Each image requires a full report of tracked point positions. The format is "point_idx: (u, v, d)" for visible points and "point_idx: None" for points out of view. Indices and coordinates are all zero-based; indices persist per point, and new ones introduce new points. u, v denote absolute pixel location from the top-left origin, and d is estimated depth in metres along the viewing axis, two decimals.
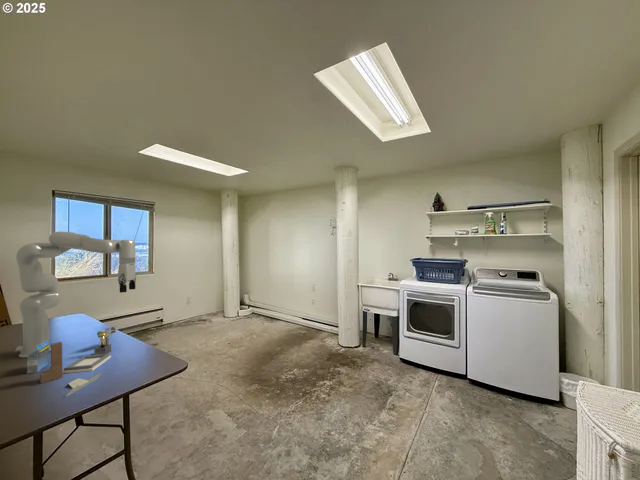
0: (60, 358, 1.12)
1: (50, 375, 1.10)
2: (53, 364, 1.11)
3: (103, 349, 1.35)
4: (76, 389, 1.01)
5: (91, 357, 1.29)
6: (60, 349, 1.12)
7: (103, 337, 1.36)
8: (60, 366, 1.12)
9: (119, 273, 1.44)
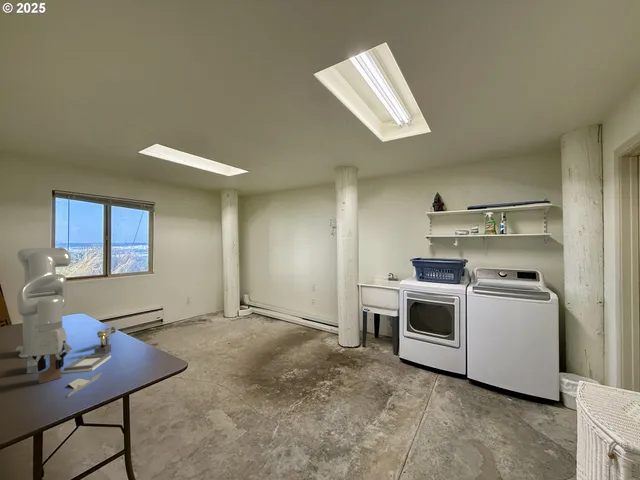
0: None
1: (48, 375, 1.10)
2: (51, 364, 1.10)
3: (103, 349, 1.35)
4: (78, 389, 1.02)
5: (91, 357, 1.29)
6: None
7: (103, 337, 1.36)
8: None
9: (60, 342, 1.10)
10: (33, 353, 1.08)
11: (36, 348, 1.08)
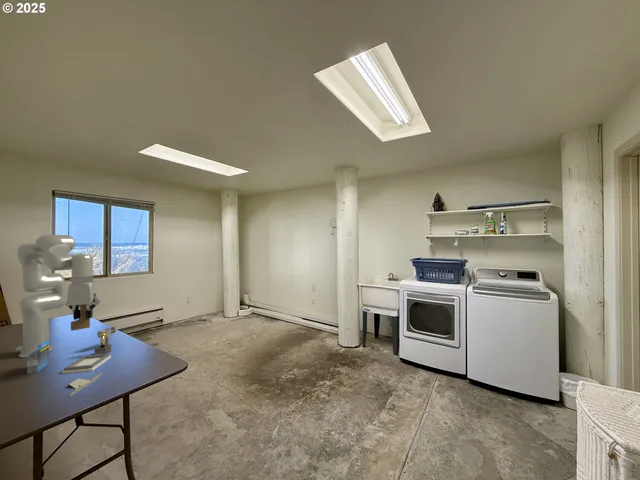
0: None
1: (79, 324, 1.22)
2: (82, 314, 1.22)
3: (103, 349, 1.35)
4: (79, 388, 1.02)
5: (91, 357, 1.29)
6: None
7: (103, 337, 1.36)
8: None
9: (92, 294, 1.22)
10: (68, 302, 1.20)
11: (71, 298, 1.20)
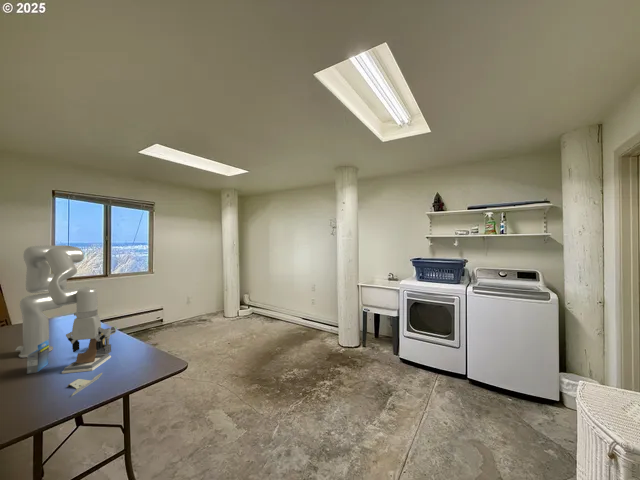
0: None
1: (85, 356, 1.23)
2: (90, 347, 1.25)
3: (103, 349, 1.35)
4: (81, 388, 1.02)
5: None
6: None
7: None
8: (95, 350, 1.26)
9: (96, 328, 1.24)
10: (73, 337, 1.21)
11: (76, 333, 1.21)
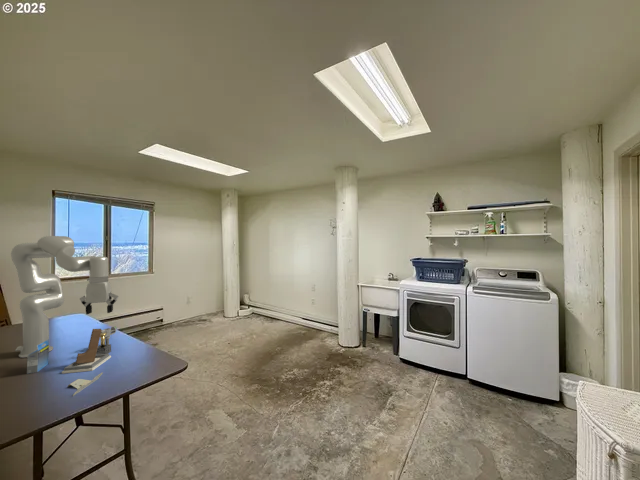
0: (97, 343, 1.26)
1: (85, 357, 1.23)
2: (90, 347, 1.24)
3: (103, 349, 1.35)
4: (82, 388, 1.02)
5: None
6: (99, 335, 1.27)
7: (103, 337, 1.36)
8: (95, 351, 1.26)
9: (107, 292, 1.34)
10: (86, 300, 1.31)
11: (89, 296, 1.31)
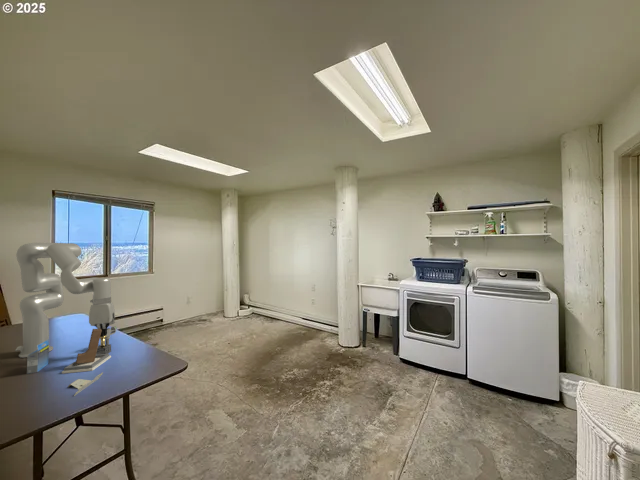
0: (97, 343, 1.26)
1: (85, 357, 1.23)
2: (90, 347, 1.24)
3: (103, 349, 1.35)
4: (83, 388, 1.02)
5: None
6: (99, 335, 1.27)
7: (103, 339, 1.36)
8: (95, 351, 1.26)
9: (111, 313, 1.36)
10: (90, 322, 1.33)
11: (92, 318, 1.34)
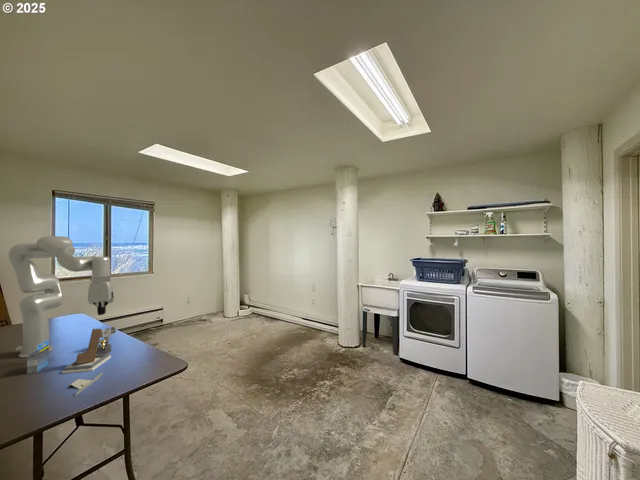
0: (97, 343, 1.26)
1: (85, 357, 1.23)
2: (90, 347, 1.24)
3: (103, 349, 1.35)
4: (84, 388, 1.02)
5: None
6: (99, 335, 1.27)
7: (103, 344, 1.36)
8: (95, 351, 1.26)
9: (110, 292, 1.36)
10: (89, 299, 1.34)
11: (91, 296, 1.34)
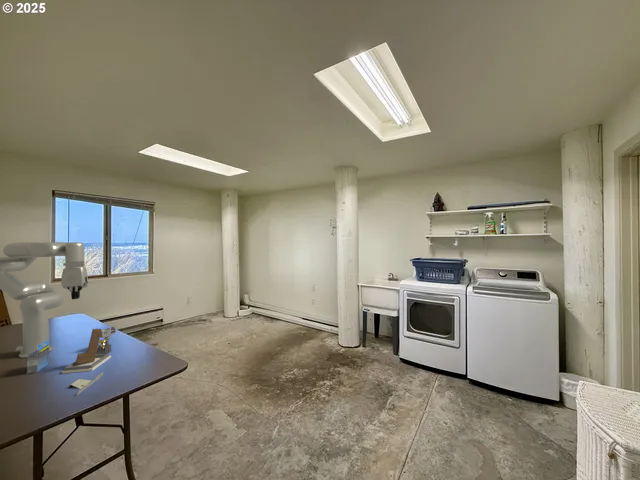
0: (97, 343, 1.26)
1: (85, 357, 1.23)
2: (90, 347, 1.24)
3: (103, 349, 1.35)
4: (85, 387, 1.02)
5: None
6: (99, 335, 1.27)
7: (103, 344, 1.36)
8: (95, 351, 1.26)
9: (83, 276, 1.39)
10: (62, 284, 1.37)
11: (64, 280, 1.37)
